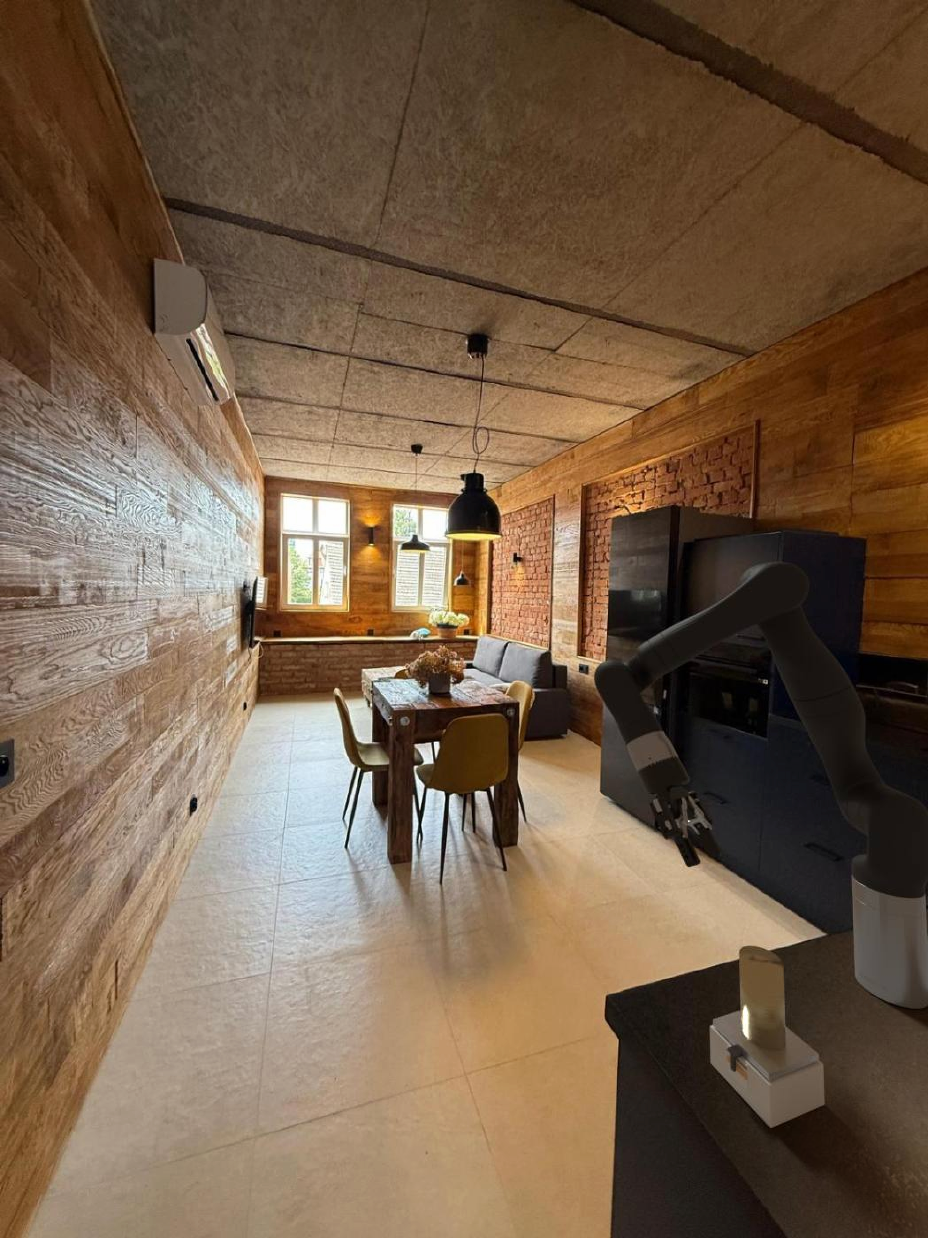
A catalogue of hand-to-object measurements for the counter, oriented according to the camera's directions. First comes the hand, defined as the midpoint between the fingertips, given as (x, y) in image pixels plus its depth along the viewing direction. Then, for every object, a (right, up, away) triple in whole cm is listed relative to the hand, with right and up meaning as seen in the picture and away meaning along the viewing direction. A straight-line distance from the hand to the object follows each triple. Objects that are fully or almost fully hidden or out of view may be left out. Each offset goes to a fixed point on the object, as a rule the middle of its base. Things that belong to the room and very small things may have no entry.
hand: (705, 861), depth 75 cm
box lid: (0, -21, -13) cm, 25 cm away
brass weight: (+1, -16, -13) cm, 21 cm away
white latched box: (+1, -23, -13) cm, 26 cm away
